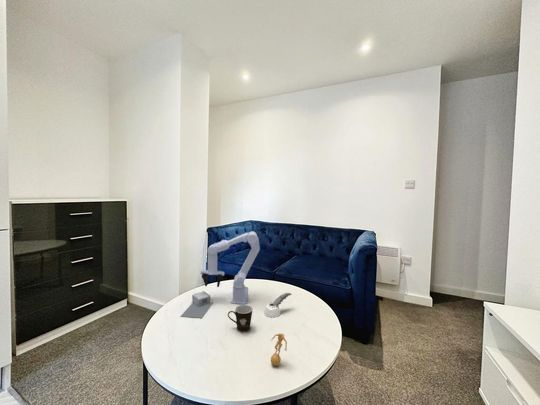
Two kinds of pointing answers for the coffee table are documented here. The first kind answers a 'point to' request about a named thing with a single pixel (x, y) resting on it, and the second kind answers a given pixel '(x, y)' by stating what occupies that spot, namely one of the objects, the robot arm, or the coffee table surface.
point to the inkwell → (275, 306)
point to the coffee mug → (242, 317)
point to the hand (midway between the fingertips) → (212, 286)
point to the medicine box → (201, 298)
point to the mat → (196, 310)
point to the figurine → (275, 357)
